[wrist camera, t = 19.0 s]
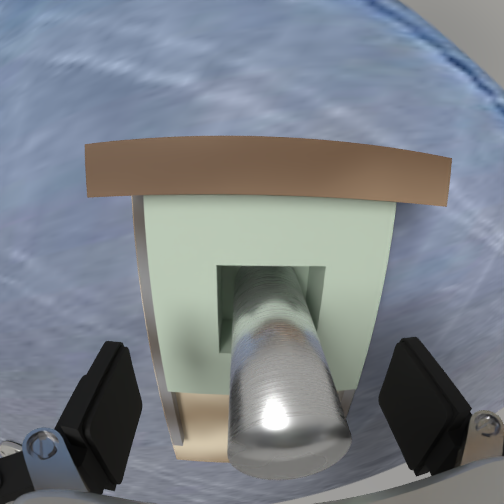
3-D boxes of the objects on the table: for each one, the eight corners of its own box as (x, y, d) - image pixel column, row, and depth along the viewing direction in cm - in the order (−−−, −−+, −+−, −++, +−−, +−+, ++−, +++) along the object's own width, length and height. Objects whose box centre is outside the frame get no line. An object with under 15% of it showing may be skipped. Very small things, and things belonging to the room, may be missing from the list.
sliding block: (339, 346, 19) (356, 388, 15) (179, 346, 19) (167, 391, 15) (362, 186, 16) (396, 202, 12) (166, 181, 15) (143, 195, 11)
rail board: (327, 448, 25) (339, 500, 19) (178, 449, 25) (170, 503, 19) (388, 148, 16) (451, 158, 10) (137, 140, 16) (84, 144, 10)
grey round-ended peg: (299, 254, 16) (364, 409, 6) (294, 310, 17) (337, 473, 7) (234, 254, 16) (224, 418, 6) (234, 311, 17) (229, 481, 7)
